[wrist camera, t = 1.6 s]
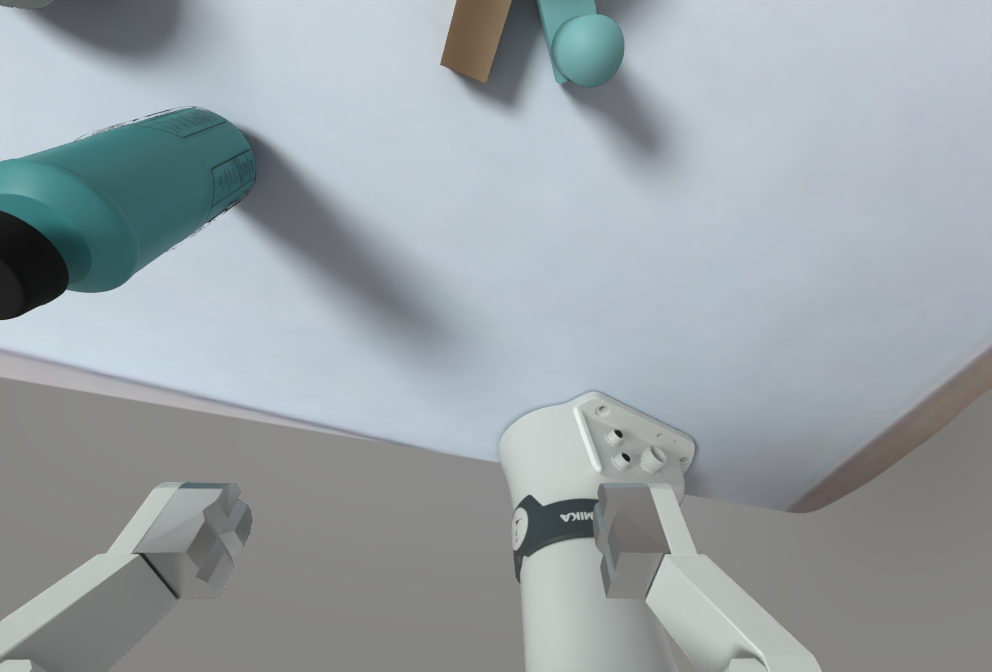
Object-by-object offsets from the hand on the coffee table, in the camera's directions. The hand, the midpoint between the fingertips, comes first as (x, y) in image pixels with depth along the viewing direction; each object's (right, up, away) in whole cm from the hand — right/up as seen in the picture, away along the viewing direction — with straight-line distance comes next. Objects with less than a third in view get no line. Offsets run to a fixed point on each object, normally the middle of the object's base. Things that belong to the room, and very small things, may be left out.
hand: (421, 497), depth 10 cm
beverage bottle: (-18, +17, +23) cm, 34 cm away
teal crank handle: (+6, +23, +18) cm, 30 cm away
